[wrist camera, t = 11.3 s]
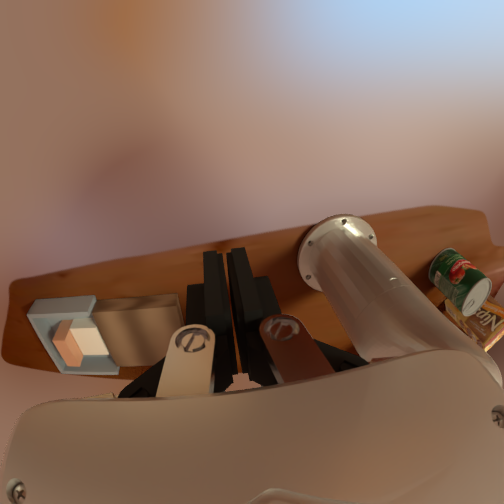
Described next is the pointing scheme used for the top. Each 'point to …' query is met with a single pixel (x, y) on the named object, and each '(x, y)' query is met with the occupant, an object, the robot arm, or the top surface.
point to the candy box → (481, 322)
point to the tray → (48, 320)
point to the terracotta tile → (67, 344)
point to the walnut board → (138, 327)
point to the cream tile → (88, 337)
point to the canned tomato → (459, 281)
